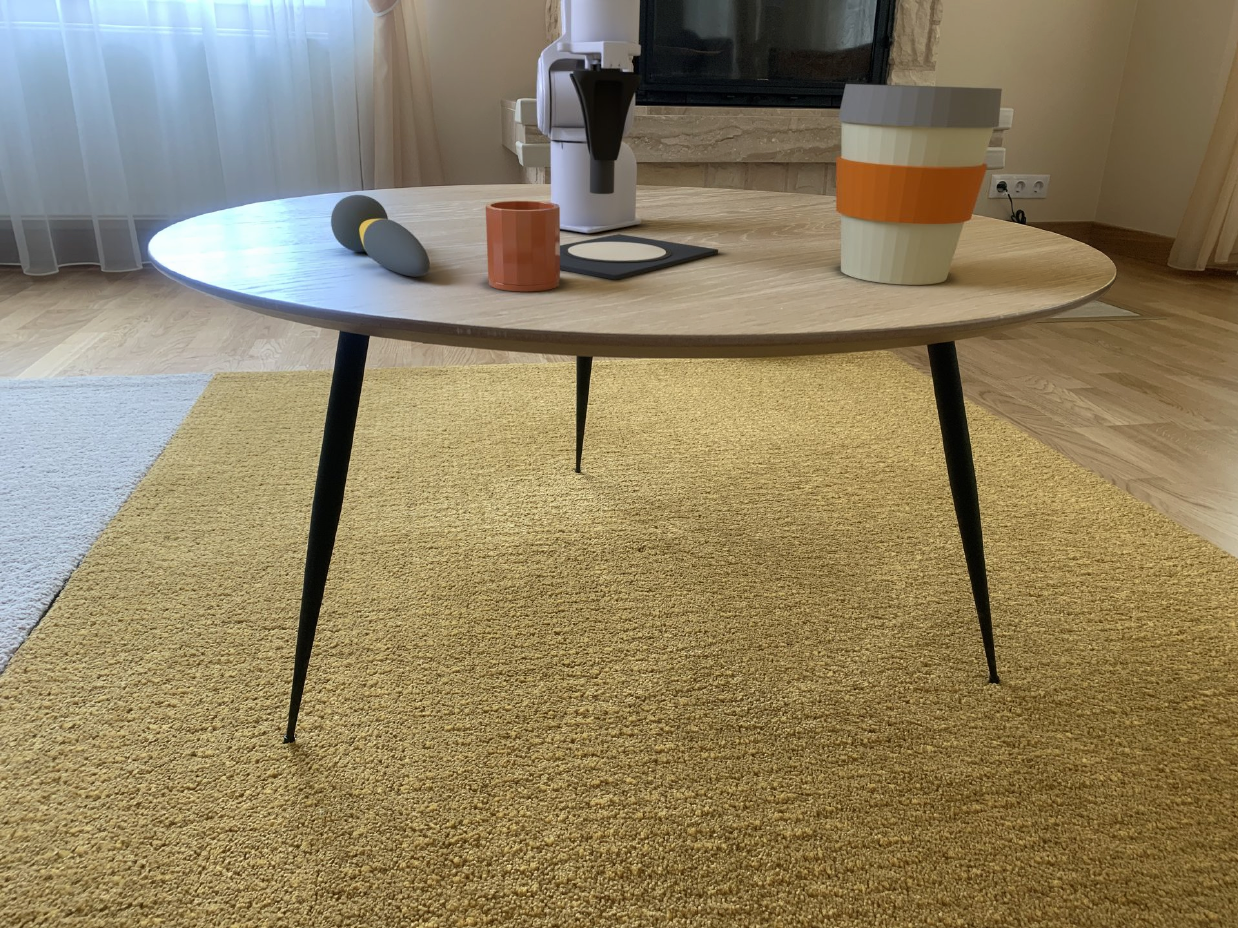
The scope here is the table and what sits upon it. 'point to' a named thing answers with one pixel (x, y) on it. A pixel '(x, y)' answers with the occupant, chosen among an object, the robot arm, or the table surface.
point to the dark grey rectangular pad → (626, 255)
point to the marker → (601, 176)
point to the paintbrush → (378, 236)
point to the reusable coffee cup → (909, 176)
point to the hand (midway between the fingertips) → (603, 158)
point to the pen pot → (523, 245)
